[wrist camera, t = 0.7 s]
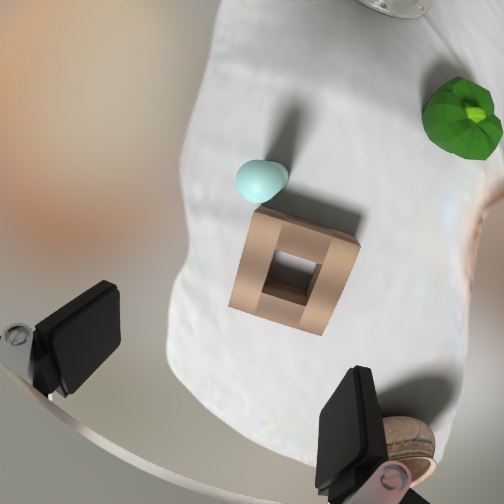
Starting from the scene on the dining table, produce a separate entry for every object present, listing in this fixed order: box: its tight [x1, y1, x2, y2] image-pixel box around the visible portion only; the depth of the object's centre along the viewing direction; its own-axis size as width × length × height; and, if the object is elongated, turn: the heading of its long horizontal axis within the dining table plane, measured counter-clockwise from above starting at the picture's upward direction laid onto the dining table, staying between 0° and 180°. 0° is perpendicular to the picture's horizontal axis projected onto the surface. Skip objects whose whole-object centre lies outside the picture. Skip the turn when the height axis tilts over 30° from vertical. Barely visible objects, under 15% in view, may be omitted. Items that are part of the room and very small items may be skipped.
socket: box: [228, 206, 361, 336], centre depth 30 cm, size 11×11×4 cm
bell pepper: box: [422, 77, 503, 160], centre depth 18 cm, size 8×8×10 cm
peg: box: [236, 160, 288, 203], centre depth 24 cm, size 3×3×10 cm
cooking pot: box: [383, 416, 437, 488], centre depth 32 cm, size 25×19×12 cm
